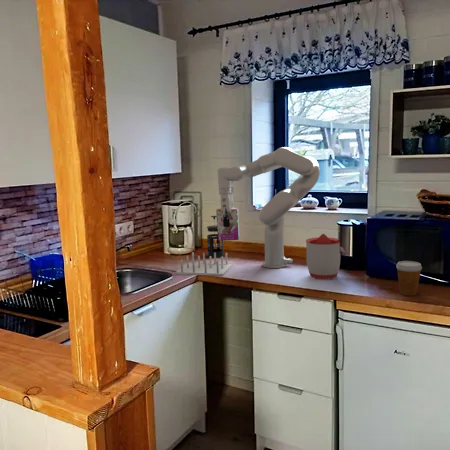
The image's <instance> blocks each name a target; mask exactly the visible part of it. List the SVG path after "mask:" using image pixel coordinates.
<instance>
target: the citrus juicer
mask: <svg viewBox="0 0 450 450" xmlns="http://www.w3.org/2000/svg"><path fill="white" fill-rule="evenodd" d="M305 242H306V247H305V248H306V266H307V269H308V273H309V276H310V277H311V278H313V279H314V278H315V279H314V280H333V279H335V278H337V276H338V273H339V271H340V270H339V269H340V265H341V252H342V253H345V252H346V251H345V250H344V247H342V246H341V241H340V239H339V238H335V237H328V236H327V235H326V234H325V233H321V235H319V237H312V238H307V239H306V240H305Z"/></svg>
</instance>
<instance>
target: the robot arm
mask: <svg viewBox="0 0 450 450" xmlns="http://www.w3.org/2000/svg"><path fill="white" fill-rule="evenodd" d="M280 168H284V169H287V170H289V171H291V172H293V173H295V174H297V175H299V177H297V178H296V179H295V180H294V181H293V182H292V183H291V184H290V185H289V186H288V187H286V188H285V189H283V190H280V191H279V192H277V194H275V195H273V197H272V198H271V199H270V200H269V201H268V202H267V203H266V204H264V206H263V207H262V208H261V209H260V211H259V213H258V218H259V220H260V221H259V222H260V223H262V224H263V225H264V229H263V230H264V232H263V233H264V261H263V262H262V263H261V266H262V267H264V268H267V269H281V268H286V267H287V265H288V264H291V263H293V258H287V257H286V255H284V254H285V253H284V252H285V251H284V250H285V249H284V245H285V243H284V223H285V214H286V213H287V212H289V211H290V210H291V209H293V208H294V207H295V206H296V205H297V204H298V203H299V201H301V200H302V199H303V198H304V197H305V196H306V195H307V194H308V193H309V192H310V191H311V190H312V189H313V188H314V186H315V185H316V184H317V183H318V180H319V179H320V178H319V177H320V173H321V172H320V171H321V170H320V165H319V163H318V161H317V159H315V157H312V156H304V155H302V154H299V153H297V152H295V151H294V150H293V149H292V148H291V147H287V146H284V147H283V146H282V147H279V148H277V149H276V150H275V151H271V152H269V153H265V154H264V155H261V156H259V157H258V158H257V159H256V160H254V161H251V162H249V163H246V164H243V165H236V166H231V167H230V166H222V167H221V166H220V167H219V168H217V179H218V180H217V185H218V195H220V209H221V213H222V214H223V227H230V223H229V213H232V210H231V209H233V208H235V204H234V197H233V196H234V182H242V181H246V180H249V179H251V178H254V177H257V176H259V175H263V174H267V173H270V172H271V171H274V170H277V169H280ZM222 211H223V212H222ZM226 212H228V213H226Z"/></svg>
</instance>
